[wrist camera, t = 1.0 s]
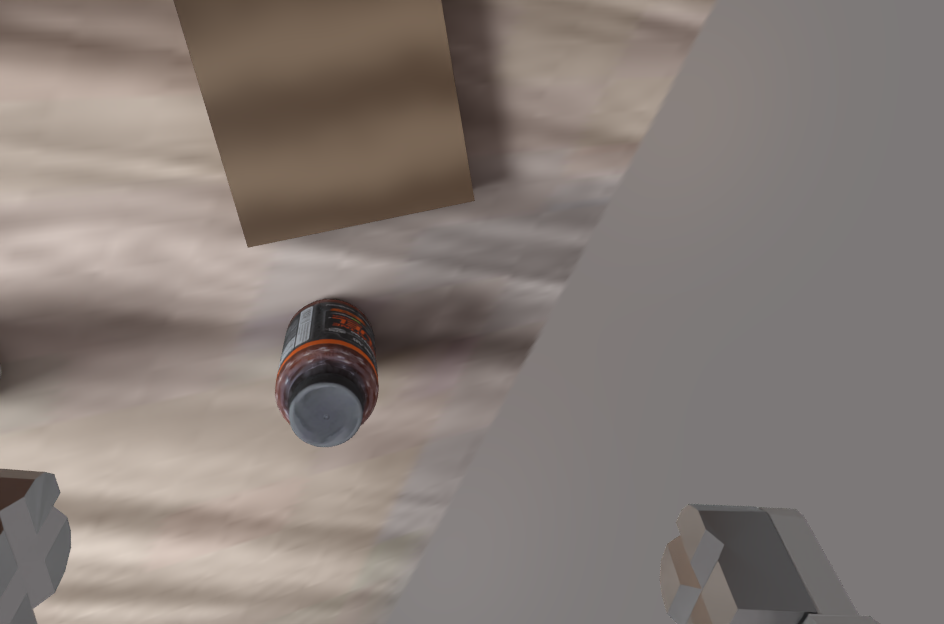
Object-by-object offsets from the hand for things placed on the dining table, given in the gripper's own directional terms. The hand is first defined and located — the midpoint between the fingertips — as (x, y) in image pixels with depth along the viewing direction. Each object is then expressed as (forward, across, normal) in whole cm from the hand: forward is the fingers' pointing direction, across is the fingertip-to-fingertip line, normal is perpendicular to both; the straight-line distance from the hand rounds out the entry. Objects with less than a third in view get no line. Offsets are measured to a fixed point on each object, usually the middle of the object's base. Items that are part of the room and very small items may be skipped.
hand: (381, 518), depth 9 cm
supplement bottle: (+34, -4, -22) cm, 40 cm away
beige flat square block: (+37, -5, -6) cm, 38 cm away
